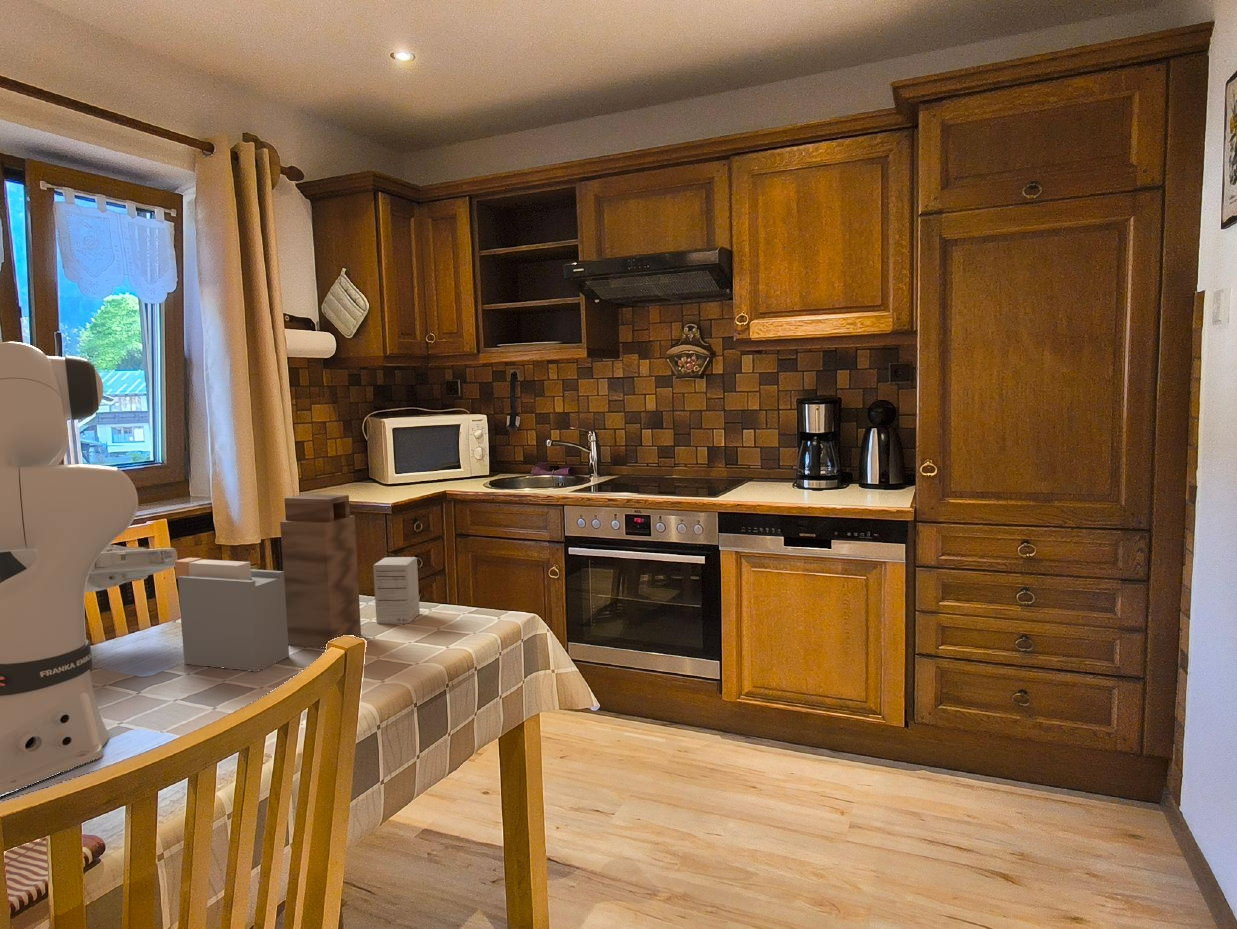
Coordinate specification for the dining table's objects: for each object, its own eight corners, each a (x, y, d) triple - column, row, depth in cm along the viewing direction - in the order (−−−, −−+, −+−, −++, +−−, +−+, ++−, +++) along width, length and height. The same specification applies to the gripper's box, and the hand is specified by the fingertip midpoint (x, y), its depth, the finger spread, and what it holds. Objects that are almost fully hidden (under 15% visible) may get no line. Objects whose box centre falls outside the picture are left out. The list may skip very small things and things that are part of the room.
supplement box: (387, 613, 168) (384, 556, 167) (420, 613, 168) (418, 556, 167) (375, 624, 161) (372, 564, 160) (410, 623, 161) (407, 564, 159)
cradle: (256, 672, 134) (250, 581, 132) (184, 664, 139) (177, 577, 137) (289, 656, 142) (283, 571, 140) (219, 649, 146) (213, 566, 145)
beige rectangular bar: (238, 582, 136) (237, 564, 136) (175, 578, 140) (174, 561, 140) (251, 578, 139) (250, 560, 139) (190, 574, 143) (188, 557, 143)
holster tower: (331, 649, 145) (323, 500, 142) (287, 645, 148) (278, 499, 145) (361, 634, 154) (353, 494, 151) (319, 630, 157) (311, 492, 154)
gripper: (39, 554, 140) (88, 541, 135) (147, 548, 159) (194, 536, 153) (42, 588, 139) (91, 577, 134) (150, 578, 158) (197, 568, 153)
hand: (147, 555), depth 144 cm, fingers open, 8 cm apart
